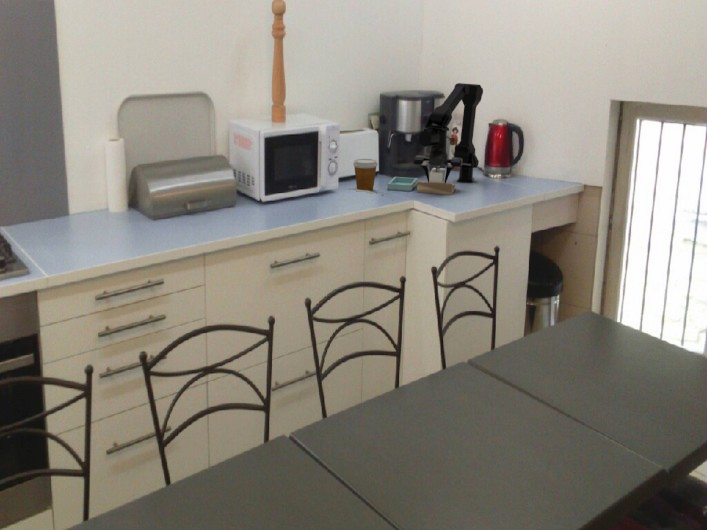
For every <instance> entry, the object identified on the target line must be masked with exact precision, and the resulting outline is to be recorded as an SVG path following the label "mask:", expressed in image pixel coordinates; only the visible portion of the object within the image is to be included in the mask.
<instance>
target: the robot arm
mask: <svg viewBox="0 0 707 530" xmlns="http://www.w3.org/2000/svg"><path fill="white" fill-rule="evenodd" d="M483 94H484V89H483V87H482V86H481V84H478V83H465V82H458V83H455V84H454V88H453V89H452V91H451V92H450V94H448V96H447V97H446V99H445V100H444V101H443V103H442V104H441V105H439V106H437V107H435V108H434V109H433V110H432V111H431V113H430V114H429V117H428V118H427V121H426V124H425V127H424V128H423V131H422V132H421V133H420V134H419V136H418V141H419V142H418V143H419V145H421V146H423V147H424V148H425V147H430V148H431V150H430V153H429V157H427V156H426V155H424V154H423V155H419V154H417V155H415V157H414V158H413V162H412V163H413V165H419V167H421V168H422V169H423V170H424V173H425V177H426V180H427V182H429V172H430V171H431V170H430V166H437V167H438V166H442V165H447V166H446V168H445V183H448V182H447V181H448V180H449V179H448V178H449V176H450V174H451V172H452V170H453V169H455V168H459V171H458V178H457V180H456V181H457V182H463V183H464V182H466V183H473V182H474V180H475V178H474V169H475V168H478V167H479V164H480V163H479V162H480V161H479V159H478V157H477V155H476V148H475V146H474V143H473V139H474V130H475V129H474V128H475V123H476V122H475V121H476V120H475V119H476V112H477V107H478V105H479V104H480V103H481V101H482V97H483ZM460 102H462V104H463V115H462V123H461V132H460V133H461V134H460V140H459V143H458V144H456V145H455V146H454V152H453V157H452V158H450V159H448V156H449V155H448V152H447V136H448V135H447V133H448V131H450V128H449V127H448V126H449V125H450V123H451V121H452V120H453V112H454V111H455V109H456V108H457V107H458V105H459V104H460Z"/></svg>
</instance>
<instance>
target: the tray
mask: <svg viewBox="0 0 707 530" xmlns="http://www.w3.org/2000/svg"><path fill="white" fill-rule="evenodd" d="M418 180H419V179H418V177H406V176H405V177H403V176H402V177H401V176H394V177H393V178H392V179H391V180H390V181H389V182H388V183H387V191H396V192H397V191H399V192H413V190H414V189H415V188H416V187H417V184H418V182H419V181H418Z"/></svg>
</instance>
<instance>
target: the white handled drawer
mask: <svg viewBox="0 0 707 530" xmlns="http://www.w3.org/2000/svg"><path fill="white" fill-rule="evenodd" d="M440 166H441V165H440ZM440 166H438V165H437V166H436V167H432V168H431V170H430V172H429V182H433V183H445V176H446V168H442V167H441V168H440Z"/></svg>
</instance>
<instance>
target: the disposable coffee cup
mask: <svg viewBox="0 0 707 530" xmlns="http://www.w3.org/2000/svg"><path fill="white" fill-rule="evenodd" d="M352 165H353V167H354V173H355V174H354V176H355V184H356V190H357V191H367V192H370V193H373V192H374V185H375V178H376V173H377V167H378V165H379V164H378V163H377V160H376V159H373V158H358V159H355V160H354V162H353V164H352Z"/></svg>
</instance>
